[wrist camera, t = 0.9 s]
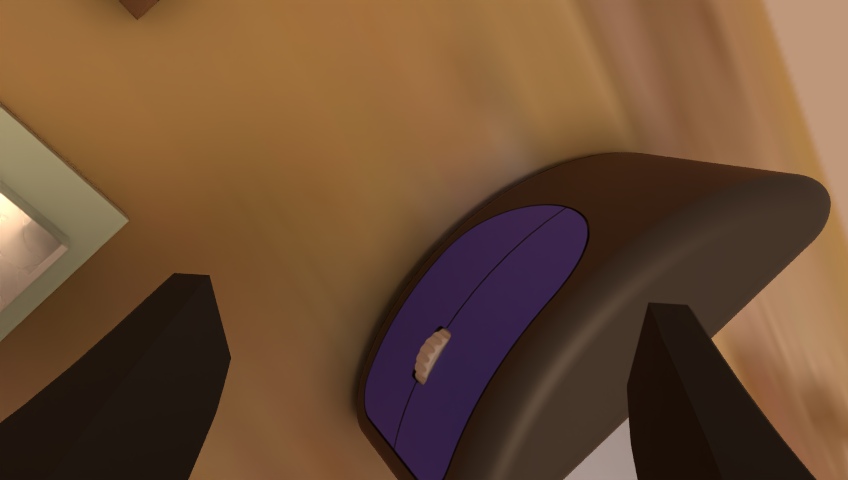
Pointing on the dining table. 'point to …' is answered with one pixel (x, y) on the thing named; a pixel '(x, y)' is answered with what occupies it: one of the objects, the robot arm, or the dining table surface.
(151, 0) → the brown block
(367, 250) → the dining table surface
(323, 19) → the dining table surface
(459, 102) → the dining table surface
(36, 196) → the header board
